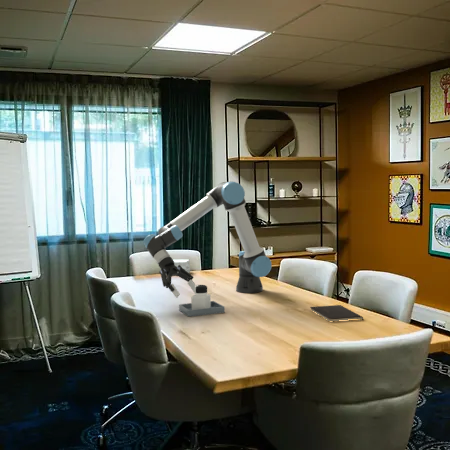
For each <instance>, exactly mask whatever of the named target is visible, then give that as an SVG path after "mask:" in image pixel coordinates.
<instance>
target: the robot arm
mask: <svg viewBox="0 0 450 450" xmlns="http://www.w3.org/2000/svg"><path fill="white" fill-rule="evenodd" d="M245 192H246V191H245V189H244V187H243V186H242V185H241V184H240V183H238V182H236V181H224V182H220V183H219V184H217V185H216V186H215V187H214V188H212V189H210V191H208V192H207V193H206V194H205V195H206V196H204V197H203V198H201V200H199V201H197V203H195V204H193V205H192V206H190V207H189V208H188V209H187V210H185V211H184V212H182V213H181V214H179V215H178V216H177V217H176V218H174V219H173V220H171V221H170V222H169V223H167V224H165V225H164V226H160V227H159V229H158V231H157V235H156V234H155V233H152V234H148V235H147V236H146V237H145V238H144V239H143V245H144V247H145V249H146V250H147V252H148V253H149V254H150V256H151V257H152V258H153V260H154V261H155V263H156V264H157V265H158V267H159V268H160V269H159V271H158V272H159V274H160V277H161V281H162V286H163V287H164V288H166V289H169V291H170V292H172V294H173V296H174V297H175V299H177V298H178V297H179V296H180V295H181V293H180V292H179V291H178V289H177V288H176V286H175V284H174V283H172V277H178V278H180V279H182V280H184V281H185V282H187V285H188V286H189V288H190V289H191V290H192V292H193V293H194V294H195V288H194V287H195V286H196V284H195V282H194V281H193V279H194V276H193V275H192V274H190V273H188V272H187V271H186V270H184V269H183V268H182V267H181V266H180V265H178V266H177V267H176V266H175V265H174V261H173V260H174V258H172V257H171V255H170V254H169V252H168V251H167V249H166V248H168V247H169V246H171V245H173V244H174V243H176V242H177V241H179V240H181V239H182V238H183V235H184V234H183V231H184V230H186V228H188V227H189V226H191V225H192V224H193V223H195V222H197V220H199V219H201V218H202V217H203V216H204V215H206V214H207V213H209V212H210V211H211V210H213V209H218V208H219V207H220V206H223V207H224V210H225V211H227V212H229V215H230V217H231V220H232V223H233V225H234V227H235V231H236V233H237V236H238V238H239V241H240V244H241V246H242V248H243V250H242V251H241V250H240V251H239V252H238V275H239V276H238V280H237V283H236V286H235V287H236V292H237V293H238V292H239V293H244V294H255V293H256V294H257V293H260V292H262V291H264V287H263V284H262V280H261V278H263V277H266V276H267V275H268V274H269V273H270V271H271V270H272V265H273V264H272V260H271V259H270V258H269V257H268V256H267V255H266V252H265V249H264V248H262V247H261V246H260V244H259V242H258V238H257V236H256V234H255V231H254V228H253V226H252V222H251V220H250V217H249V215H248V212H247V210H246V207H245V206H246V204H247V202H246V198H245V194H246V193H245ZM166 274H167V275H166Z"/></svg>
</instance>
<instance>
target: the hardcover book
mask: <svg viewBox="0 0 450 450" xmlns="http://www.w3.org/2000/svg"><path fill="white" fill-rule="evenodd" d="M309 308H310V311H311V310H312V311H314V312H316V313H317V314H319V315H320V316H322V317H324V318H325V319H327V320H328V321H339V320H348V319H363V320H364V317H363V316H362V315H360V314H359V313H356V312H354V311H353V310H351V309H349V308H347V307H345V306H343V305H341V304H337V305H334V304H333V305H321V306H320V305H319V306H318V305H317V306H310V307H309ZM312 311H311V312H312ZM314 312H313V313H314ZM316 313H315V314H316ZM317 314H316V315H317ZM319 315H318V316H319ZM320 316H319V317H320ZM322 317H321V318H322ZM325 319H324V320H325ZM327 320H326V321H327ZM328 321H327V322H328Z"/></svg>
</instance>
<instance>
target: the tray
mask: <svg viewBox="0 0 450 450" xmlns="http://www.w3.org/2000/svg"><path fill="white" fill-rule="evenodd" d="M178 308H179V309H178V310H179V311H180V312H181V313H183V314H184V315H185V316H187V317H197V316H205V315H206V316H207V315H214V314H224V313H225V311H226V307H225V306H224V305H222V304H220V303H218V302H216V301H214V300H211V308H205V309H196V310H192V305H191V302H190V303H183V304H178Z"/></svg>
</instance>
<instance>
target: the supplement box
mask: <svg viewBox="0 0 450 450" xmlns="http://www.w3.org/2000/svg"><path fill="white" fill-rule="evenodd" d="M173 261H174V265H175V266H176V267H177V266H178V265H180V266H181V267H182V268H183V269H184V270H186V271H187V272H188V273H189V274H190V272H191V267H190V266H191V265H190V264H191V263H190V262H191V261H190V259H173ZM166 276H167V274H166Z"/></svg>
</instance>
